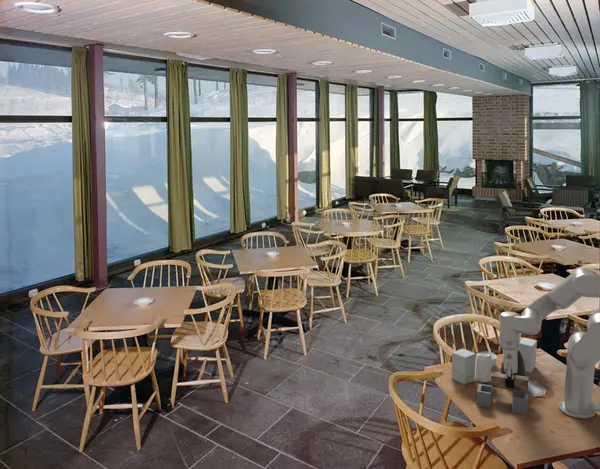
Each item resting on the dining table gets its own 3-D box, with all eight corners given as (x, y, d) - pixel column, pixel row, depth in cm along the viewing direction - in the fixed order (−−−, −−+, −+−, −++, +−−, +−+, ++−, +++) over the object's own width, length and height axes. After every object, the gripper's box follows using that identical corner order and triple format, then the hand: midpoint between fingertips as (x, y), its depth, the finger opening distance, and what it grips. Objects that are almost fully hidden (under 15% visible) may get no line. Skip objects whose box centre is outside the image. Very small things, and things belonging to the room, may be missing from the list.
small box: (521, 363, 246) (523, 337, 244) (535, 366, 242) (537, 340, 240) (515, 369, 240) (517, 342, 237) (530, 373, 236) (532, 346, 233)
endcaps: (526, 405, 209) (527, 391, 208) (526, 414, 203) (527, 400, 202) (478, 397, 216) (478, 383, 215) (476, 405, 210) (477, 391, 209)
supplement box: (475, 380, 231) (476, 353, 228) (464, 385, 227) (465, 357, 224) (461, 374, 237) (462, 347, 234) (450, 378, 233) (451, 352, 230)
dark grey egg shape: (495, 381, 229) (497, 348, 226) (507, 373, 236) (509, 342, 233) (517, 389, 222) (520, 356, 219) (529, 381, 228) (531, 348, 225)
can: (491, 383, 227) (493, 357, 225) (475, 382, 229) (477, 356, 226) (489, 376, 234) (490, 351, 231) (474, 375, 235) (475, 350, 232)
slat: (528, 388, 213) (528, 376, 212) (528, 392, 209) (528, 380, 209) (491, 383, 218) (491, 372, 217) (491, 387, 215) (491, 375, 214)
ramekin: (500, 366, 243) (500, 357, 242) (483, 369, 241) (484, 360, 240) (488, 358, 252) (488, 350, 251) (472, 361, 249) (472, 352, 248)
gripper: (519, 351, 201) (519, 395, 205) (520, 335, 216) (520, 377, 219) (498, 349, 205) (498, 393, 208) (501, 334, 219) (501, 375, 223)
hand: (510, 384), depth 214 cm, fingers closed on slat, 3 cm apart
